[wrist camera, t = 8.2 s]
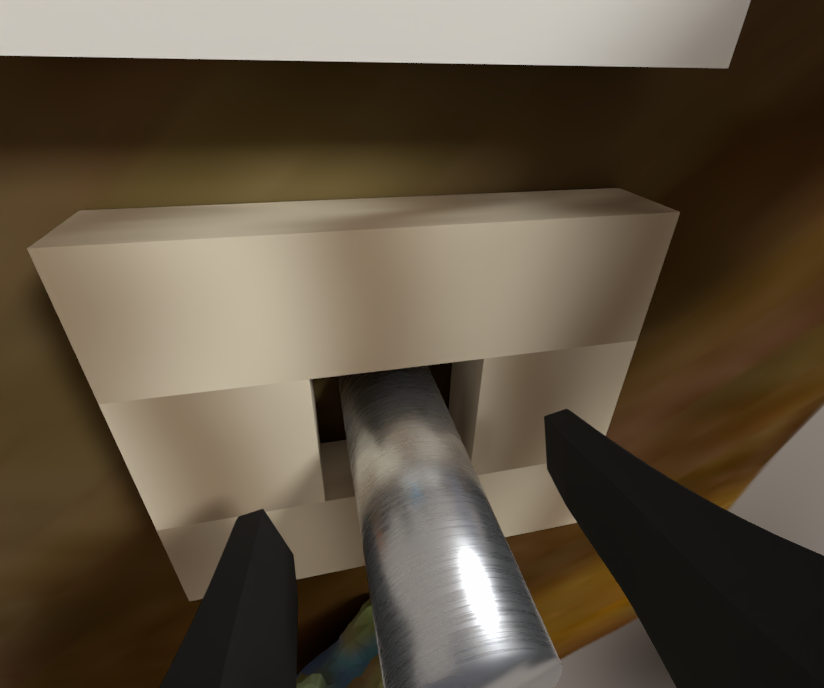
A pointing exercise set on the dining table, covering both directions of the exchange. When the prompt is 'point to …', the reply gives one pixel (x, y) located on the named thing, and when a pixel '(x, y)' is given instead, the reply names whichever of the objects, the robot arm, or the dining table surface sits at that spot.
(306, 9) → the socket block
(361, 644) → the decorative rock
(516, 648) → the steel peg
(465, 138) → the dining table surface
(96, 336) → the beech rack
